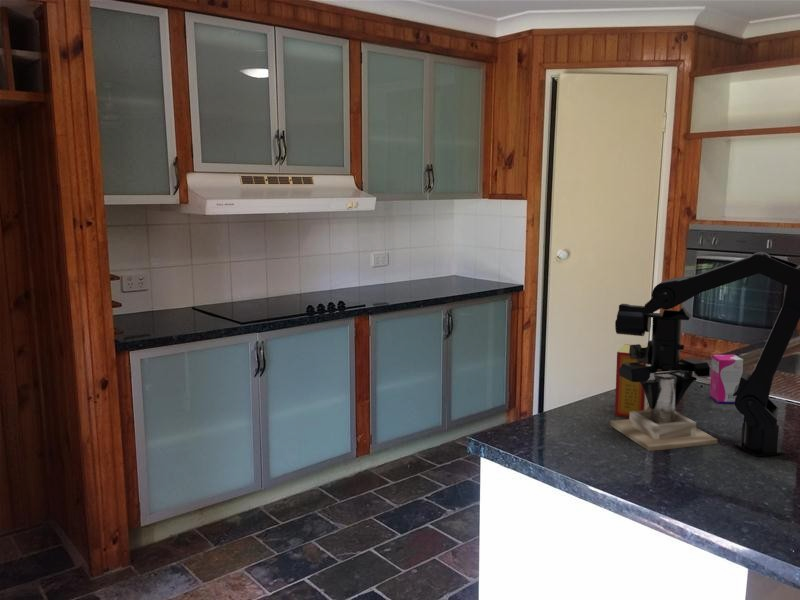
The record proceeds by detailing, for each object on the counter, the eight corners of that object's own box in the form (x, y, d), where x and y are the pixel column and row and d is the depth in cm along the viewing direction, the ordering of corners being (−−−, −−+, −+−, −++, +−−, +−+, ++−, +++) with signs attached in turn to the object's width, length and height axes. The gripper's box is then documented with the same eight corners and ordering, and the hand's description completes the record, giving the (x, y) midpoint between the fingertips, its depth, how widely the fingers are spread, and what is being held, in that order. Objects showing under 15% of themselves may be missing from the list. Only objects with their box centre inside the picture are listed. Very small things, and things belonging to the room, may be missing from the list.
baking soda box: (622, 404, 167) (624, 342, 165) (649, 407, 164) (652, 345, 162) (614, 415, 159) (617, 350, 157) (643, 419, 156) (646, 353, 153)
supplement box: (732, 396, 171) (735, 353, 169) (741, 404, 165) (744, 359, 164) (708, 396, 172) (711, 353, 170) (717, 403, 166) (720, 359, 164)
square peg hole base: (717, 443, 140) (718, 425, 140) (649, 451, 137) (649, 432, 137) (672, 419, 156) (672, 402, 155) (609, 425, 153) (610, 408, 152)
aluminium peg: (679, 423, 144) (681, 378, 142) (658, 425, 143) (660, 380, 142) (665, 415, 149) (667, 372, 147) (645, 417, 148) (647, 374, 146)
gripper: (681, 328, 153) (678, 393, 155) (607, 333, 149) (605, 400, 151) (713, 338, 142) (709, 408, 144) (634, 344, 138) (631, 415, 141)
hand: (662, 407), depth 146 cm, fingers closed on aluminium peg, 5 cm apart
